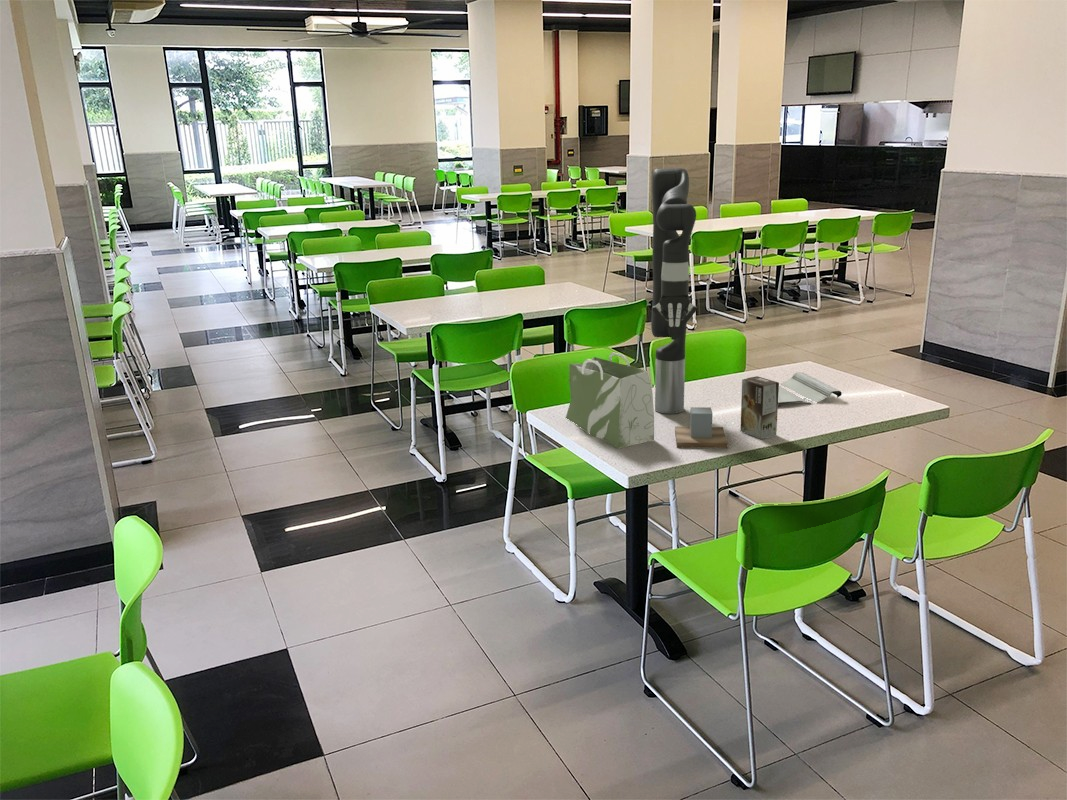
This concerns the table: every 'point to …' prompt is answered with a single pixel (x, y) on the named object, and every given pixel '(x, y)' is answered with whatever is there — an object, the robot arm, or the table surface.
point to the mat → (805, 389)
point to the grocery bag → (612, 401)
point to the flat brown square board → (687, 442)
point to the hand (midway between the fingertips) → (673, 339)
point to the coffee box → (759, 407)
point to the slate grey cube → (701, 422)
